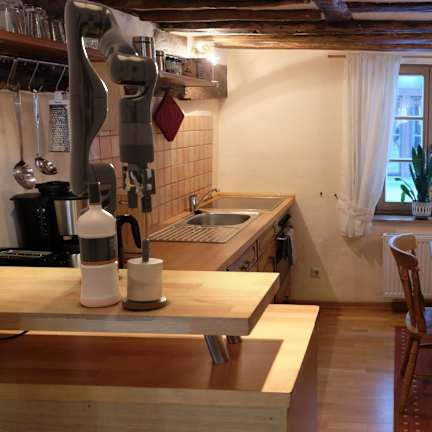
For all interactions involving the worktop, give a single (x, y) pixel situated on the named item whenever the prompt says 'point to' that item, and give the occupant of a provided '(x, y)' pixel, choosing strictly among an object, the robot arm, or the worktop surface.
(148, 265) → the towel holder
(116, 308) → the worktop surface
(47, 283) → the worktop surface
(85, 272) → the vodka
